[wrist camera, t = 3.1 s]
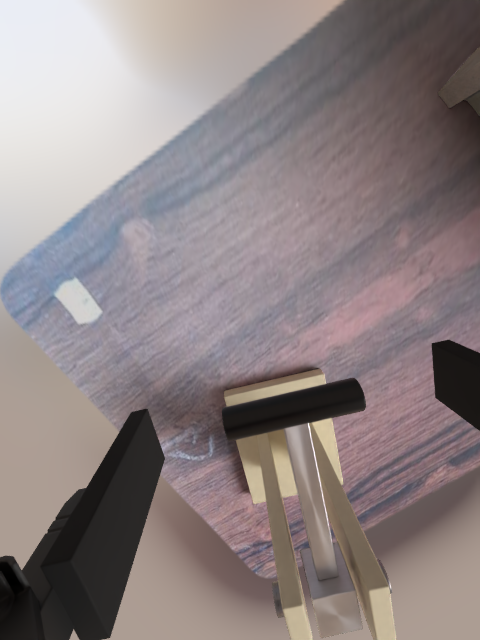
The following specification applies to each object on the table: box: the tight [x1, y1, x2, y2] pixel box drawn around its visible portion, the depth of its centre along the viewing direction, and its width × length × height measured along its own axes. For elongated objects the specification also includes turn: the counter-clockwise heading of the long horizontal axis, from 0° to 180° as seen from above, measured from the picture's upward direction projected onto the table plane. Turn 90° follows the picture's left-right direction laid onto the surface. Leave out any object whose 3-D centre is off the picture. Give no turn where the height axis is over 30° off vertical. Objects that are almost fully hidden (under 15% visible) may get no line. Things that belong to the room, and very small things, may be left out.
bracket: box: [224, 369, 397, 640], centre depth 21 cm, size 12×9×15 cm
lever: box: [222, 378, 366, 638], centre depth 14 cm, size 13×6×2 cm, turn 13°
